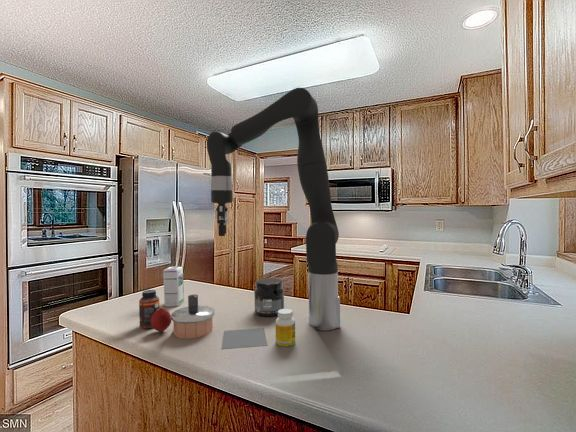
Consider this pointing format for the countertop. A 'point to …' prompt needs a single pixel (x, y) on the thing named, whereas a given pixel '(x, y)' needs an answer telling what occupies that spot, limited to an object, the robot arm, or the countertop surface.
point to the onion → (161, 319)
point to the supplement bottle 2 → (285, 328)
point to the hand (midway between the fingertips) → (222, 235)
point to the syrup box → (173, 286)
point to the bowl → (193, 329)
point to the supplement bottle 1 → (147, 308)
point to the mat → (244, 338)
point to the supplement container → (268, 297)
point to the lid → (192, 312)
